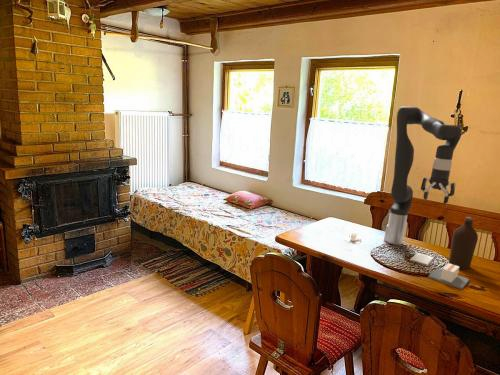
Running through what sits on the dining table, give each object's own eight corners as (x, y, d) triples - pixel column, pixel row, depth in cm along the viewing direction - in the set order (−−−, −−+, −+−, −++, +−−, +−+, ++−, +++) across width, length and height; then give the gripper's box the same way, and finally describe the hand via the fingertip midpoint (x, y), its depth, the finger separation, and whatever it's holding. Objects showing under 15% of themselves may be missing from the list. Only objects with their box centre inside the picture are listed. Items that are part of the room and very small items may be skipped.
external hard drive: (409, 262, 186) (416, 255, 196) (427, 267, 182) (433, 260, 191) (410, 259, 186) (417, 252, 196) (427, 264, 181) (433, 257, 191)
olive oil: (461, 271, 179) (472, 222, 173) (442, 262, 188) (452, 215, 182) (475, 268, 183) (487, 220, 177) (456, 259, 193) (466, 213, 187)
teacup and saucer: (360, 239, 212) (361, 232, 211) (362, 244, 205) (363, 237, 204) (344, 238, 213) (345, 231, 212) (346, 243, 205) (347, 236, 204)
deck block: (446, 273, 174) (448, 262, 172) (457, 276, 171) (459, 266, 169) (440, 278, 167) (442, 268, 166) (451, 282, 164) (453, 271, 163)
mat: (428, 277, 169) (428, 275, 169) (436, 270, 178) (436, 268, 178) (461, 289, 160) (462, 287, 160) (468, 280, 169) (469, 279, 169)
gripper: (460, 170, 171) (453, 204, 175) (428, 164, 180) (422, 197, 184) (456, 171, 165) (448, 206, 169) (423, 166, 175) (416, 199, 178)
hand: (435, 201), depth 177 cm, fingers open, 8 cm apart
